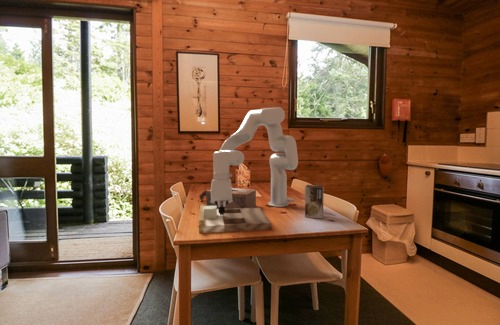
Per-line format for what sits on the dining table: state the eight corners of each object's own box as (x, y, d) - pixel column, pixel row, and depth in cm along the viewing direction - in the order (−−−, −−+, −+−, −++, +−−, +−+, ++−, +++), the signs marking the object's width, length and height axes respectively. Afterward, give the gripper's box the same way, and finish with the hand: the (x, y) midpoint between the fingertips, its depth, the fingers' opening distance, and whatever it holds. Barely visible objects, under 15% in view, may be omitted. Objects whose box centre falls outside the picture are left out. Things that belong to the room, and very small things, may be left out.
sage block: (216, 214, 138) (216, 205, 138) (216, 218, 132) (216, 208, 132) (204, 214, 138) (204, 205, 137) (203, 218, 132) (203, 209, 131)
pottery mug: (212, 204, 174) (205, 193, 173) (201, 209, 178) (194, 198, 177) (221, 195, 184) (214, 185, 183) (210, 200, 189) (204, 190, 188)
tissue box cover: (255, 206, 168) (255, 189, 167) (246, 212, 155) (246, 194, 154) (218, 202, 178) (218, 186, 177) (206, 207, 165) (206, 190, 164)
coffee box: (323, 215, 148) (324, 185, 146) (322, 218, 142) (323, 187, 140) (306, 213, 151) (306, 184, 149) (304, 217, 145) (305, 186, 143)
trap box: (259, 212, 152) (259, 203, 152) (271, 229, 126) (271, 217, 125) (200, 215, 147) (199, 205, 147) (199, 232, 121) (198, 220, 120)
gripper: (236, 175, 138) (236, 211, 140) (205, 176, 136) (206, 212, 138) (237, 177, 131) (237, 215, 133) (205, 178, 129) (206, 217, 130)
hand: (221, 214), depth 135 cm, fingers closed
